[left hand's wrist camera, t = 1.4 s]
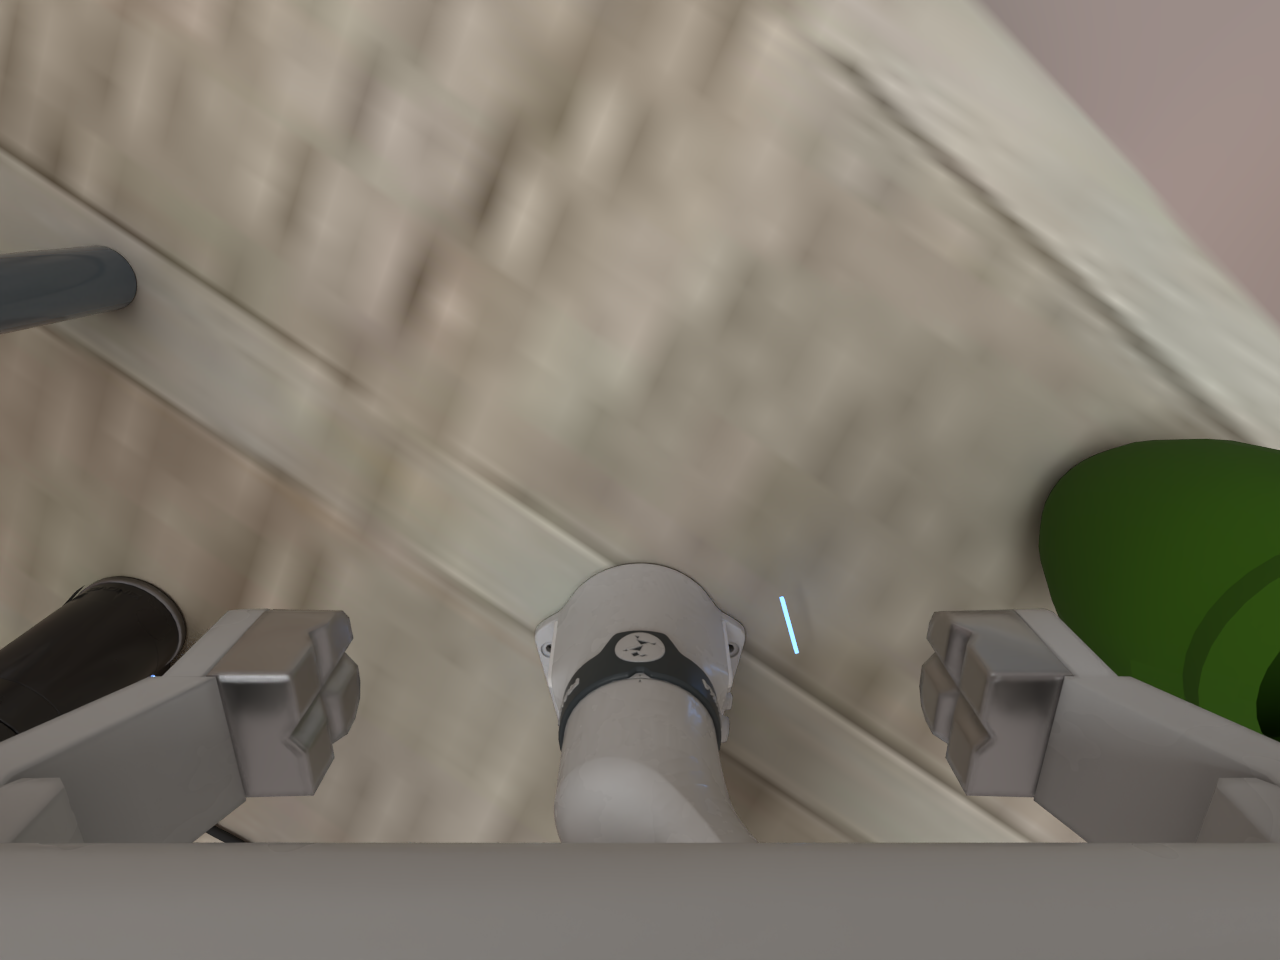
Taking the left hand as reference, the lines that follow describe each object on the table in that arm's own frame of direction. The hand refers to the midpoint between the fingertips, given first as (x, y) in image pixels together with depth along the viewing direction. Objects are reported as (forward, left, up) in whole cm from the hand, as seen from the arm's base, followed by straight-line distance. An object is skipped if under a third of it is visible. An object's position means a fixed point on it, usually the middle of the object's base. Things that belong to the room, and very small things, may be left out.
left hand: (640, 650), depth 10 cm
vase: (-18, -38, -48) cm, 64 cm away
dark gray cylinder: (0, +40, -48) cm, 63 cm away
